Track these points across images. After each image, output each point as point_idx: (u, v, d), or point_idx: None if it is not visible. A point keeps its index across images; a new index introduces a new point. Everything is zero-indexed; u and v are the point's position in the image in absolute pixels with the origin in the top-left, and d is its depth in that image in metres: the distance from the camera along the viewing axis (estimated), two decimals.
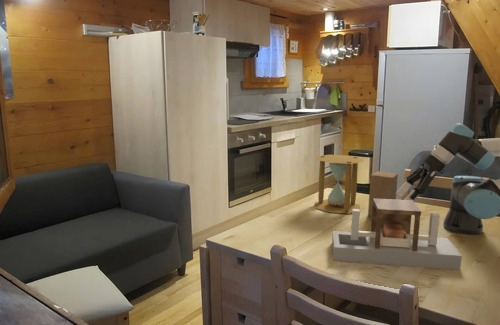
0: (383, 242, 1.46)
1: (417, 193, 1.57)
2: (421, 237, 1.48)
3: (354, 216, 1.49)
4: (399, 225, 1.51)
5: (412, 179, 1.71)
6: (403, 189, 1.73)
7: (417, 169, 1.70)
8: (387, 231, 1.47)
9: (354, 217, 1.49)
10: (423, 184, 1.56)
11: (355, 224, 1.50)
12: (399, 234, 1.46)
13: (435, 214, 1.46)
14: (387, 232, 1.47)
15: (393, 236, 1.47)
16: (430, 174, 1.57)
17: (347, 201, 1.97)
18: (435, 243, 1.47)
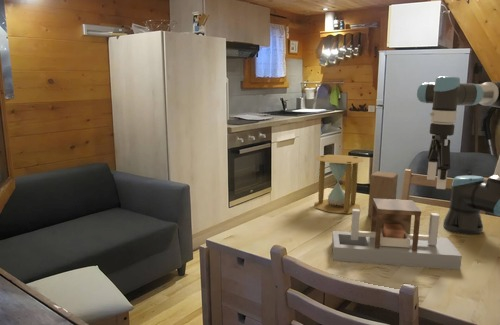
0: (383, 242, 1.46)
1: (444, 171, 1.36)
2: (421, 237, 1.48)
3: (354, 216, 1.49)
4: (399, 225, 1.51)
5: (433, 156, 1.49)
6: (431, 171, 1.51)
7: (431, 144, 1.49)
8: (387, 231, 1.47)
9: (354, 217, 1.49)
10: (443, 159, 1.34)
11: (355, 224, 1.50)
12: (399, 234, 1.46)
13: (435, 214, 1.46)
14: (387, 232, 1.47)
15: (393, 236, 1.47)
16: (444, 144, 1.35)
17: (347, 201, 1.97)
18: (435, 243, 1.47)
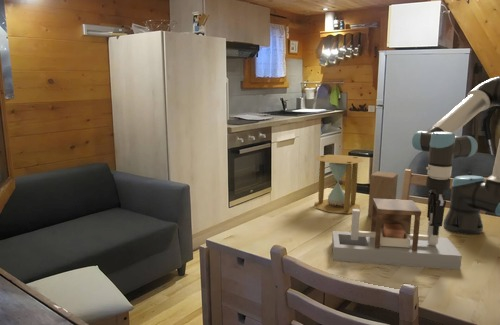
0: (383, 242, 1.46)
1: (436, 227, 1.44)
2: (421, 237, 1.48)
3: (354, 216, 1.49)
4: (399, 225, 1.51)
5: None
6: None
7: (428, 200, 1.50)
8: (387, 231, 1.47)
9: (354, 217, 1.49)
10: (437, 218, 1.41)
11: (355, 224, 1.50)
12: (399, 234, 1.46)
13: None
14: (387, 232, 1.47)
15: (393, 236, 1.47)
16: (439, 205, 1.39)
17: (347, 201, 1.97)
18: (435, 243, 1.47)
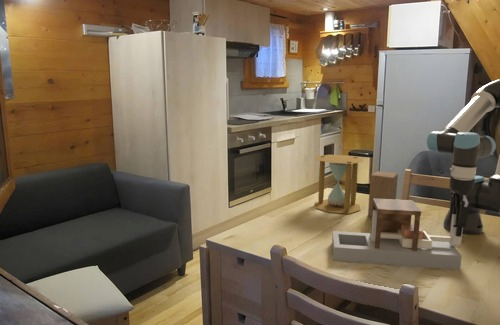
0: (405, 243, 1.45)
1: (460, 228, 1.42)
2: (443, 238, 1.46)
3: (375, 217, 1.48)
4: None
5: None
6: None
7: (451, 201, 1.49)
8: (405, 232, 1.46)
9: (375, 218, 1.48)
10: (461, 219, 1.40)
11: None
12: None
13: None
14: (406, 233, 1.46)
15: (412, 237, 1.46)
16: (463, 206, 1.38)
17: (347, 201, 1.97)
18: (457, 245, 1.46)
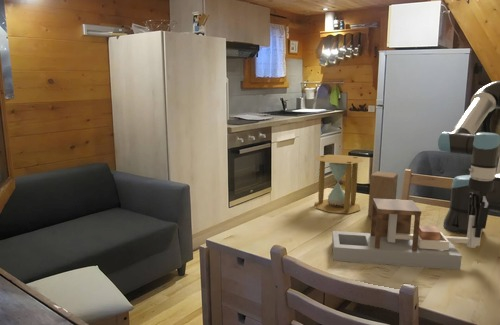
0: (422, 244, 1.44)
1: (479, 229, 1.42)
2: (460, 239, 1.46)
3: (391, 218, 1.47)
4: (434, 227, 1.49)
5: None
6: None
7: (469, 201, 1.48)
8: (422, 233, 1.45)
9: (391, 219, 1.48)
10: (480, 220, 1.39)
11: (392, 226, 1.48)
12: (435, 236, 1.44)
13: (474, 216, 1.44)
14: (423, 234, 1.45)
15: (429, 238, 1.45)
16: (483, 207, 1.37)
17: (347, 201, 1.97)
18: (474, 246, 1.45)
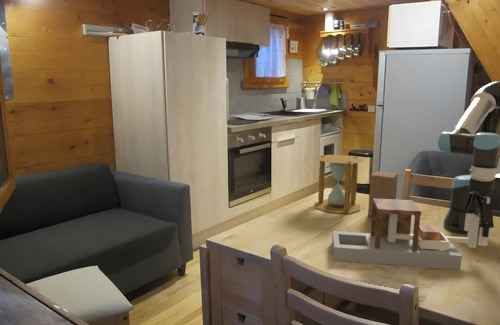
0: (422, 245, 1.44)
1: (487, 228, 1.36)
2: (460, 239, 1.46)
3: (392, 218, 1.47)
4: (434, 227, 1.49)
5: (471, 208, 1.49)
6: None
7: (468, 196, 1.49)
8: (423, 233, 1.45)
9: (392, 219, 1.47)
10: (486, 217, 1.35)
11: (393, 226, 1.48)
12: (435, 236, 1.44)
13: (475, 216, 1.44)
14: (423, 234, 1.45)
15: (429, 238, 1.45)
16: (486, 202, 1.36)
17: (347, 201, 1.97)
18: (475, 246, 1.45)
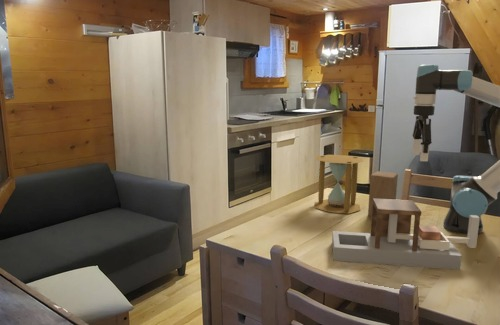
0: (422, 245, 1.44)
1: (426, 145, 1.59)
2: (460, 239, 1.46)
3: (392, 218, 1.47)
4: (434, 227, 1.49)
5: (417, 134, 1.72)
6: (416, 147, 1.74)
7: (415, 123, 1.72)
8: (423, 233, 1.45)
9: (392, 219, 1.47)
10: (425, 135, 1.57)
11: (393, 226, 1.48)
12: (435, 236, 1.44)
13: (475, 216, 1.44)
14: (423, 234, 1.45)
15: (429, 238, 1.45)
16: (426, 123, 1.59)
17: (347, 201, 1.97)
18: (475, 246, 1.45)
